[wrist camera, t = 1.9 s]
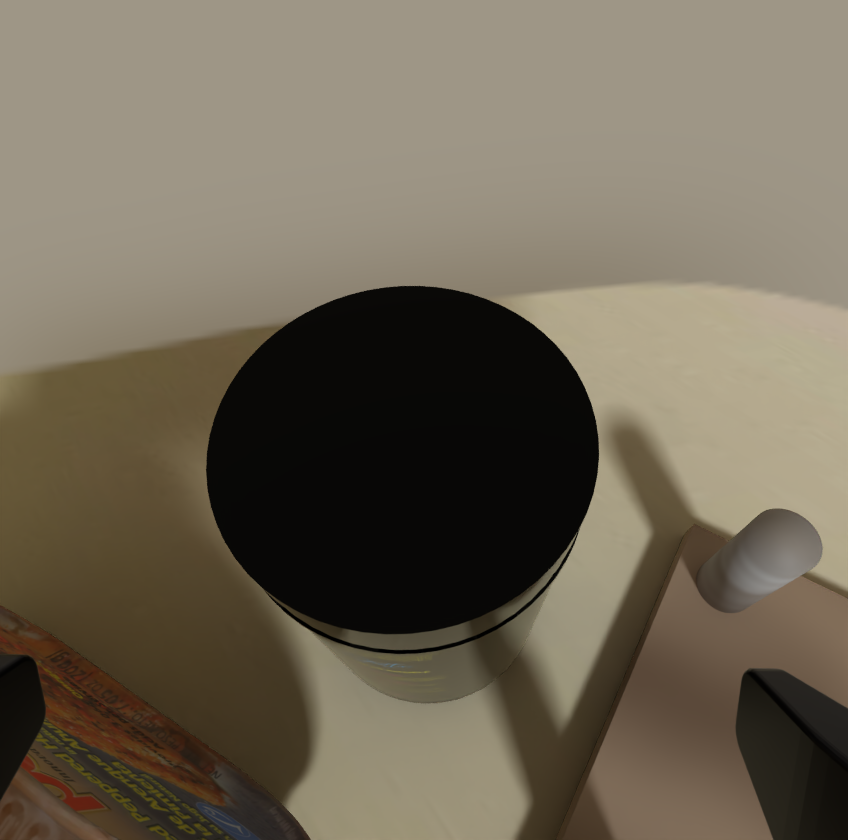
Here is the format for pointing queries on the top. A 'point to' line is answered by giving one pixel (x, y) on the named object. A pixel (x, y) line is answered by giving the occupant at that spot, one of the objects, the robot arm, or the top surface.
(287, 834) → the tin
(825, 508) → the top surface
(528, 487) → the supplement container
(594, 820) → the cradle
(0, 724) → the robot arm
